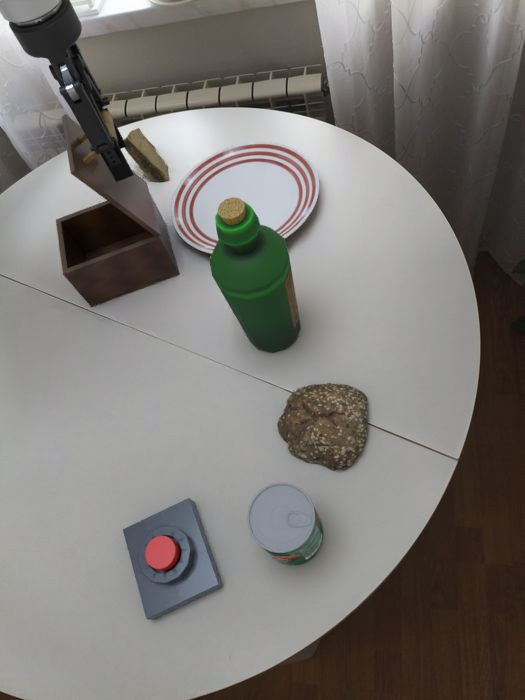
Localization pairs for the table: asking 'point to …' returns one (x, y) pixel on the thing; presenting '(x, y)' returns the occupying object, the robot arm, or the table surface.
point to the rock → (146, 156)
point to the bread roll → (325, 424)
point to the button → (162, 553)
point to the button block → (191, 568)
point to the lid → (108, 176)
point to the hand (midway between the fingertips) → (121, 162)
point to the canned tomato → (286, 524)
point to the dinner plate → (246, 190)
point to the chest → (112, 253)
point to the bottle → (255, 276)
